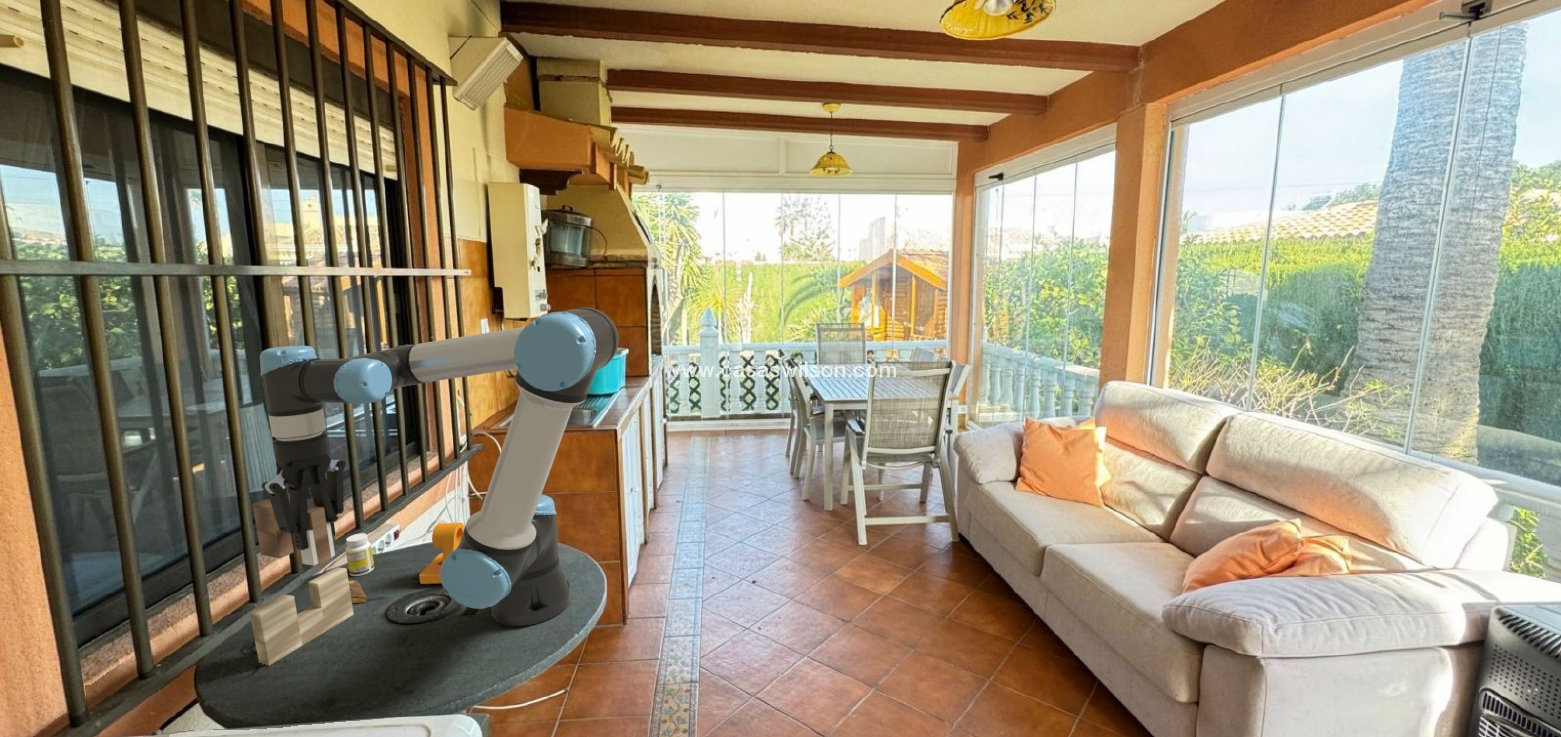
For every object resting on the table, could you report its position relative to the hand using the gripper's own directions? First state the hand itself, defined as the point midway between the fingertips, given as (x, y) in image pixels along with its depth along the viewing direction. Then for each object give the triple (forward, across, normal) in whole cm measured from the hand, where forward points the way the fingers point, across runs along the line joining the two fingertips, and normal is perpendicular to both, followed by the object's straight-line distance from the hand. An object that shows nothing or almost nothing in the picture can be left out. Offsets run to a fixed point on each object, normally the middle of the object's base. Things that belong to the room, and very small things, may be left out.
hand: (319, 559), depth 111 cm
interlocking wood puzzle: (+17, 0, -5) cm, 17 cm away
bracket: (+17, -26, +2) cm, 31 cm away
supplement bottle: (+17, -22, -18) cm, 33 cm away
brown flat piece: (+17, -14, -12) cm, 25 cm away
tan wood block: (0, 0, -6) cm, 6 cm away
